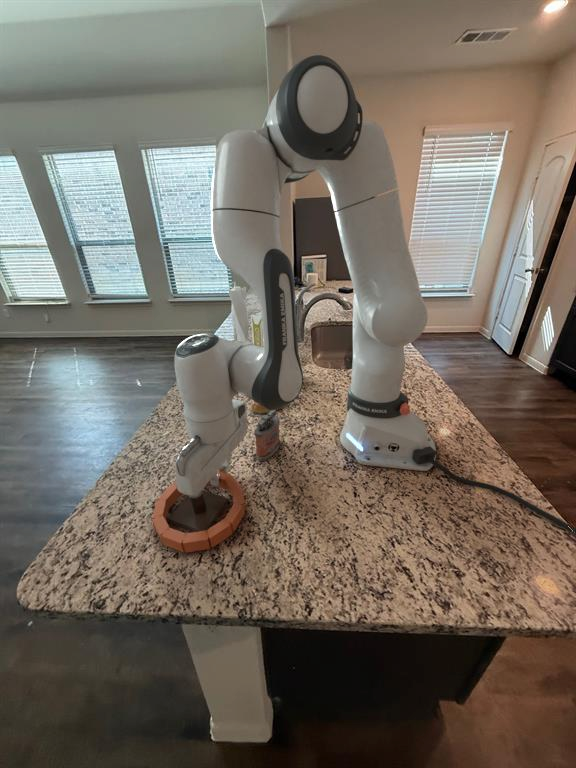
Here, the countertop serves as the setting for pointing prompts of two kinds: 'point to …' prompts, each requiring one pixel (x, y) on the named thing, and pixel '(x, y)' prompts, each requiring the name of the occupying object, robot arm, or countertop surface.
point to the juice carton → (257, 329)
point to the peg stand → (198, 511)
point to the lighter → (267, 436)
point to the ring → (201, 538)
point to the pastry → (260, 408)
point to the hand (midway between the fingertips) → (220, 477)
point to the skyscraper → (239, 313)
